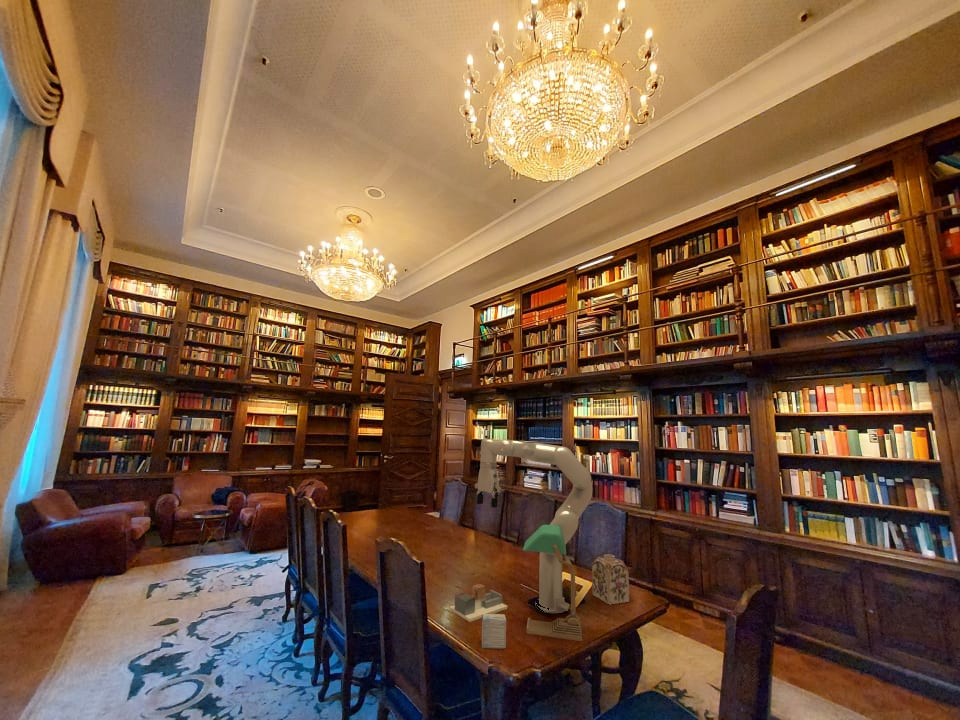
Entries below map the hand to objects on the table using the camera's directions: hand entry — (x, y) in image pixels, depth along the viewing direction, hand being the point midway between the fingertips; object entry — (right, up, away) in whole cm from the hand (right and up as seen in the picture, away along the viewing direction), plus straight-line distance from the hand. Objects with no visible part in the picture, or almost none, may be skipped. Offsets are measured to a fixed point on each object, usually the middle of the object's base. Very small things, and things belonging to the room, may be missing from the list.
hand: (487, 505), depth 170 cm
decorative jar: (+55, -41, -2) cm, 69 cm away
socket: (-9, -33, -22) cm, 41 cm away
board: (-4, -35, -18) cm, 40 cm away
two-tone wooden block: (-6, -33, -20) cm, 39 cm away
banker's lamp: (+23, -33, -33) cm, 52 cm away
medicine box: (+1, -30, -44) cm, 53 cm away
